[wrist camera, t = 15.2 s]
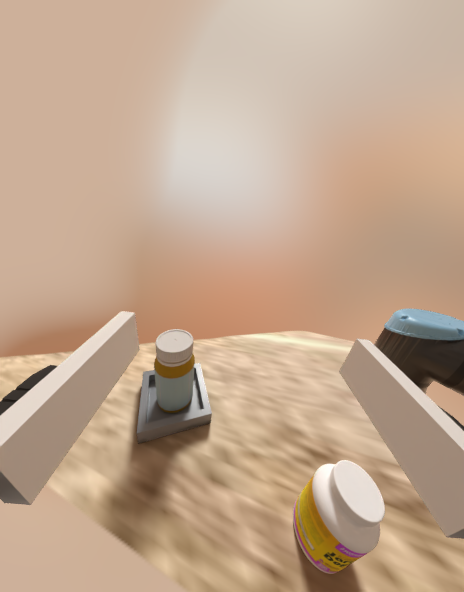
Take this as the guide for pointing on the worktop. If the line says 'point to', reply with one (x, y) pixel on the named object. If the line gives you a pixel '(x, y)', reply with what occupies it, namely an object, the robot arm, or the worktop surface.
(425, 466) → the robot arm
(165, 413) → the tray
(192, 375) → the bottle
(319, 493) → the supplement bottle
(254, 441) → the worktop surface
